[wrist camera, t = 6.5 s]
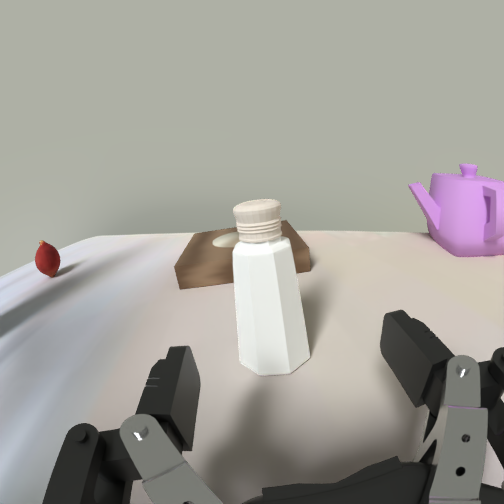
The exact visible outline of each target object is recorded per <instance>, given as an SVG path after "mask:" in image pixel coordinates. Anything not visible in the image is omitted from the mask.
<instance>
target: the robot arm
mask: <svg viewBox="0 0 504 504" xmlns="http://www.w3.org/2000/svg"><path fill="white" fill-rule="evenodd" d="M380 348H381V353H382V355H383V357H384V359H385V360H386V362H387V363H388V365H389V366H390V368H391V369H392V371H393V372H394V374H395V375H396V377H397V379H398V380H399V382H400V383H401V385H402V386H403V388H404V390H405V391H406V393H407V394H408V396H409V398H410V399H411V401H412V403H413V404H414V406H415V407H416V408H417V407H419V406H421V405H424V404H426V405H427V407H428V408H429V409H428V411H427V415H426V420H425V424H424V429H423V433H422V437H421V441H420V444H419V448H418V451H417V453H416V455H415V457H414V459H413V461H412V462H400V461H399V459H398V456H395V457H393V458H390V459H388V460H385V461H382V462H379V463H376V464H373V465H371V466H367V467H366V468H364V469H362V470H360V471H358V472H357V473H355V474H353V475H351V476H349V477H347V478H345V479H343V480H341V481H339V482H337V483H332V484H291V485H285V486H277V487H268V488H262V494H263V495H261V496H258V497H255V498H252V499H250V500H248V501H246V502H244V503H242V504H504V481H503V482H502V485H501V488H502V489H501V488H498V487H494V486H490V485H487V484H483V483H481V481H482V475H483V468H484V461H485V453H486V442H487V439H488V441H489V443H490V444H491V446H492V448H493V450H494V451H495V453H496V455H497V457H498V459H499V461H500V463H501V465H502V467H503V469H504V403H503V401H502V400H501V396H502V395H503V393H504V347H502V348H498V349H496V350H495V351H494V353H493V356H492V358H491V360H489V361H484V362H479V363H477V362H476V361H475V360H474V359H473V358H471V357H469V356H465V355H458V356H455V355H454V354H453V353H452V352H451V351H450V350H449V349H448V348H447V347H446V346H445V345H444V344H443V343H442V342H441V340H440V339H439V338H438V337H436V336H435V334H434V333H433V332H432V331H430V329H429V328H428V327H427V326H426V325H425V324H424V323H423V322H421V321H419V320H417V319H415V318H412V319H411V318H410V317H409V316H408V315H407V313H406V312H405V311H403V310H398V311H394V312H390V313H386V314H385V316H384V320H383V327H382V334H381V341H380ZM199 393H200V376H199V372H198V369H197V366H196V363H195V360H194V357H193V354H192V351H191V349H190V347H189V346H175V347H170V348H169V351H168V354H167V357H166V359H159V361H158V362H157V363H156V364H155V365H154V366H153V367H152V368H151V371H150V374H149V377H148V379H147V382H146V387H145V388H144V390H143V393H142V396H141V399H140V402H139V405H138V408H137V411H136V414H135V415H133V416H131V417H129V418H128V419H126V420H125V421H124V422H123V424H122V425H121V427H120V428H119V429H115V430H109V431H102V432H98V430H97V429H96V428H95V427H94V426H93V425H91V424H87V423H81V424H78V425H75V426H74V427H72V428H71V429H70V430H69V431H68V433H67V435H66V437H65V440H64V442H63V445H62V447H61V450H60V453H59V455H58V458H57V461H56V463H55V466H54V469H53V472H52V475H51V478H50V481H49V484H48V487H47V490H46V493H45V497H44V500H43V503H42V504H129V503H130V496H131V490H132V484H133V480H141V479H143V482H142V485H143V487H144V489H145V491H146V492H147V494H148V496H149V497H150V499H151V500H152V502H153V503H154V504H224V503H223V502H222V501H221V500H220V499H219V498H218V497H217V496H216V495H215V494H214V493H213V492H212V491H211V490H210V489H209V487H208V486H207V485H206V484H205V483H204V482H203V481H202V479H201V478H200V477H199V476H198V475H197V474H196V472H195V471H194V470H193V469H192V467H191V466H190V465H189V464H188V463H187V461H185V459H184V458H183V457H182V451H192V446H193V438H194V430H195V422H196V415H197V407H198V400H199Z"/></svg>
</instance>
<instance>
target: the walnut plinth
mask: <svg viewBox="0 0 504 504" xmlns="http://www.w3.org/2000/svg"><path fill="white" fill-rule="evenodd" d="M281 224H282V226H281V227H280V228H281V231H282V235H281V236H282V237H287V238H289V240H290V244H291V248H292V253H293V258H294V264H295V269H296V273H301V272H308V271H310V258H309V247H308V246H307V245H306V243H305V242H304V241H303V240H302V239H301V237H300V236H299V235H298V234H297V232H296V231H295V230H294V229H293V228H292V227H291V225H290V224H289V223H288V222H287V221H286V220H285V221H281ZM237 230H238V229H237V227H236V228H228V229H221V230H215V231H208V232H202V233H195V234H194V235H193V237H192V239H191V240H190V242H189V243H188V245H187V247H186V248H185V250H184V251H183V253H182V255H181V256H180V258H179V260H178V261H177V263H176V265H175V266H174V268H175V272H176V276H177V280H178V284H179V288H180V289H187V288H195V287H202V286H210V285H218V284H225V283H233V282H234V276H233V249H234V247H235V245H236V244H237V243H238V242H240V240H239V232H238V231H237Z"/></svg>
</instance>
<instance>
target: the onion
mask: <svg viewBox="0 0 504 504" xmlns="http://www.w3.org/2000/svg"><path fill="white" fill-rule="evenodd" d="M39 243H40V247H39V248H38V250H37V253H36V257H35V262H36V266H37V268H38V269H39V271H40V272H42V273H43V274H45V275H48V276H50V277H54V276H55V274H56V272H57V270H58V269H59V266H60V255H59V253H58V251H57V250H56V249H55V247H53V246H52V245H50V244H48V243H46V242H44V241H43V240H41V241H40V242H39Z"/></svg>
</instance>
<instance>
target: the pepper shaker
mask: <svg viewBox="0 0 504 504" xmlns="http://www.w3.org/2000/svg"><path fill="white" fill-rule="evenodd" d="M280 208H281V205H280V202H279V201H276V200H273V199H261V200H253V201H247V202H243V203H240V204H238V205H237V206H235V207H234V209H233V213H234V215H235V218H236V220H237V223H236V225H237V229H238V230H237V231H238V232H239V240H240V242H238V243H237V244H236V245H235V247H234V249H233V276H234V291H235V305H236V318H237V332H238V344H239V357H240V363H242V364H243V365H244V366H246V367H247V368H249V369H250V370H252V371H253V372H255V373H256V374H258V375H259V376H270V375H285V374H290V373H292V372H293V371H294V370H296V369H297V368H298V367H299V366H301V365H302V364H303V363H304V362H306V361H307V360H308V359H309V358H310V352H309V345H308V339H307V332H306V326H305V320H304V314H303V308H302V302H301V297H300V291H299V285H298V280H297V274H296V269H295V264H294V258H293V253H292V248H291V244H290V240H289V238H287V237H282V236H281V235H282V231H281V228H280V227H281V226H282V224H281V217H280V216H279V215H280Z"/></svg>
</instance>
